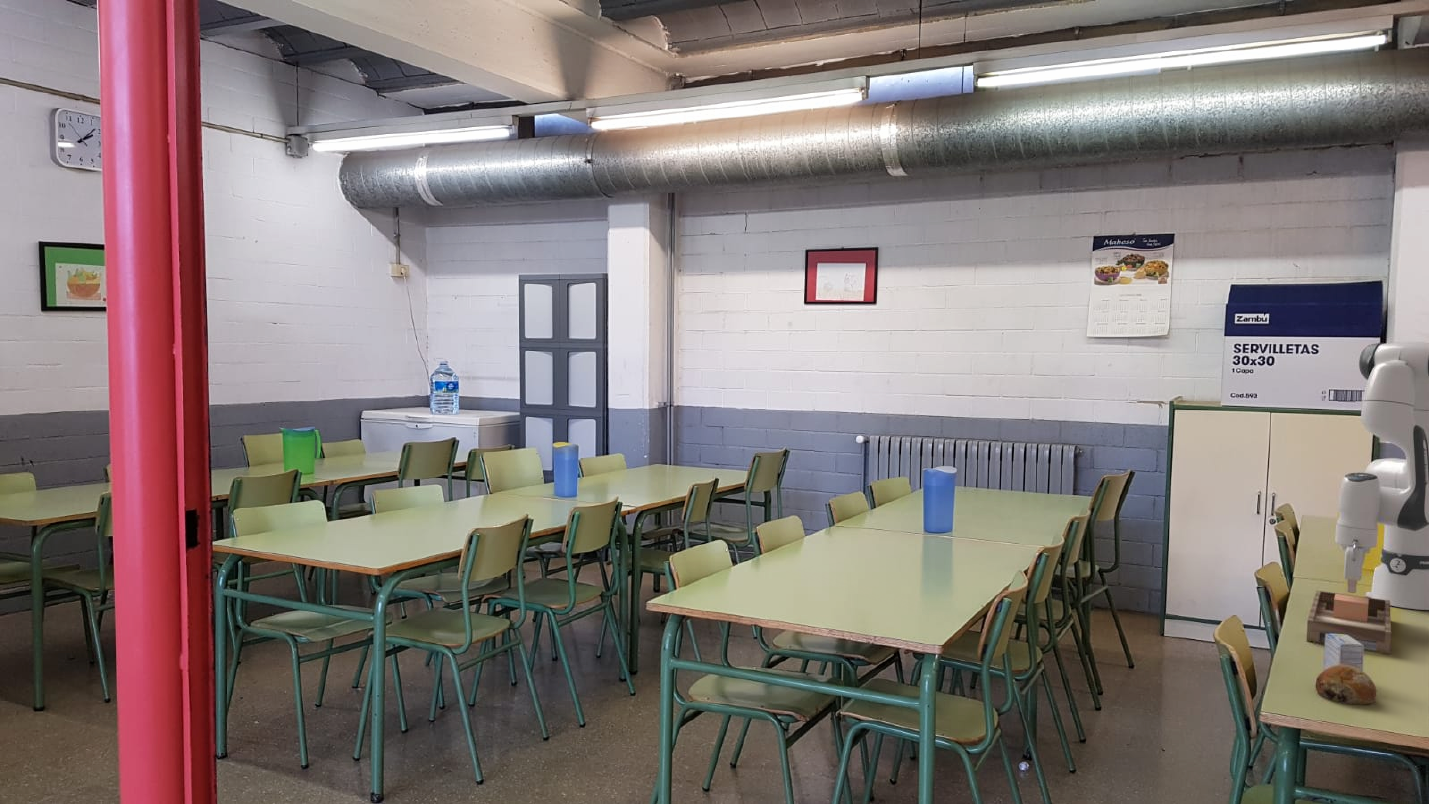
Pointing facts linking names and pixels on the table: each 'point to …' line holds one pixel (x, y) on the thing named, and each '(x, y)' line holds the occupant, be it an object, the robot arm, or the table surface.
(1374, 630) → the tray
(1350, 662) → the medicine box
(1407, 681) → the table surface
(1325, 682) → the bread roll
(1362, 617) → the block
